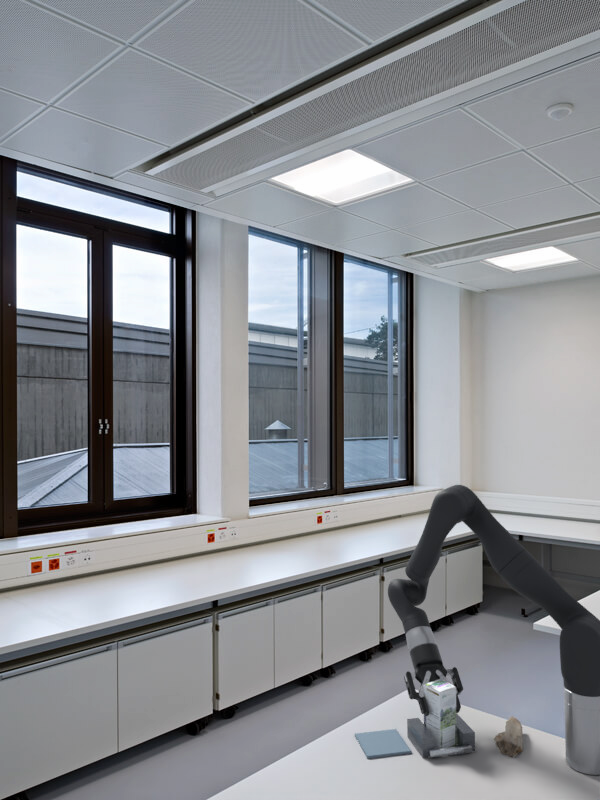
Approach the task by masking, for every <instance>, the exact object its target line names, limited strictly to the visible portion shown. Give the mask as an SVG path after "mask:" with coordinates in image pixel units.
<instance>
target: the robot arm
mask: <svg viewBox="0 0 600 800" xmlns="http://www.w3.org/2000/svg"><path fill="white" fill-rule="evenodd" d="M462 522H463V523H464V524H465V526H467V528H469V529H470V530H471V531H472V532H473V533H474V535H475V536H476V537H477V538H478V540H479V541H480V543H481V544H482V548H483V550H484V552H485V554H486V557H487V559H488V561H489V563H490V565H491V568H493V570H494V571H495V572H496V573H497V574H498V576H500V577H501V578H502V580H503V581H504V582H505V583H506V584H507V585H508V586H509V587H510V588H511V589H512V590H513V591H515V592H516V593H517V594H519V595H520V596H522V597H523V598H525V599H527V601H530V602H532V603H533V604H534V605H536V606H537V607H539V608H541V609H542V610H543V612H546V613H547V614H548V615H549V616H550V617H551V619H552V620H554V622H555V623H556V624H557V625H558V626H559V627H560V629H561V631H560V635H559V657H560V658H559V660H560V673H561V676H562V679H563V702H564V703H563V707H564V709H563V710H564V739H565V740H564V742H565V761H566V764H567V765H568V766H569V767H570V768H571V769H573V770H575V771H576V772H580V773H582V774H587V775H590V776H591V775H593V776H598V775H599V776H600V619H599V618H598V617H596V615H594V614H593V613H592V612H590V611H589V610H588V609H587V608H586V607H585V606H583V604H581V603H580V602H579V601H577V600H576V598H574V597H573V596H572V595H571V594H570V593H569V592H567V591H566V590H565V589H564V587H563V586H562V585H561V584H560V583H559V582H558V581H557V580H556V579H555V577H553V575H551V574H550V573H549V571H548V570H546V568H544V567H543V566H542V564H540V562H539V561H538V560H537V559H536V558H535V557H534V556H533V555H532V554H531V552H529V551H528V550H527V549H526V548H525V547H524V546H523V545H522V543H520V542H519V541H518V540H517V539H516V538H515V537H514V536H513V535H512V534H511V533H510V532H509V531H508V530H507V529H506V527H505V526H504V525H502V524H501V522H500V521H498V520H497V519H496V517H495V516H494V514H492V513H491V511H490V510H489V509H488V507H486V505H485V504H484V503H483V502H482V501H481V499H480V498H479V497H478V496H477V494H476V493H475V492H474V491H472V489H470V488H469V487H468V486H466V485H462V484H455V485H451V486H449V487H447V488H444V489H442V490H440V491H438V493H437V494H435V496H434V497H433V501H432V503H431V506H430V509H429V512H428V515H427V520H426V522H425V524H424V528H423V531H422V532H421V533H422V534H421V536H420V538H419V541H418V543H417V545H416V546H415V548H414V550H413V551H412V554H411V556H410V558H409V560H408V561H407V563H406V566H405V569H404V570H405V571H404V572H405V575H406V576H407V578H408V579H404V578H395V579H392V580H391V581H390V582H389V583H388V587H387V595H388V596H387V597H388V600H389V602H390V604H391V606H392V608H393V610H394V611H395V612H396V615H397V616H398V618H399V620H400V621H401V624H402V627H403V631H404V635H405V639H406V644H407V651H408V652H409V656H410V659H411V663H412V666H413V670H414V672H411V671H406V673H405V674H404V677H403V678H404V679H403V680H404V683H405V686H406V689H407V690H406V691H407V694H408V698H409V699H410V700H416V701H417V702H418V706H419V710H420V713H421V714H422V715H423V717H424V716H428V715H429V709H428V706H427V702H426V699H425V698H424V694H425V693H424V684H427V683H430V682H432V681H435V680H438V679H441V680H444V681H446V682H448V683H450V684H452V685H453V686H455V687H456V714H458V713H459V712H460V711H461V708H462V705H461V701H460V699H459V695H461V693H462V692H463V690H464V686H463V683H462V681H461V677H460V675H459V671H458V668H457V667H456V666H453V667H452V668H450V669H449V668H448V669H446V667H445V666H444V664H443V660H442V655H441V653H440V650H439V646H438V643H437V640H436V637H435V634H434V633H433V631H432V627H431V624H430V621H429V618H428V615H427V613H426V611H425V610H424V609H422V608H420V607H418V606H421V605H422V604H423V603H424V601H426V597H427V593H428V588H429V583H430V577H431V576H432V574H433V572H434V571H435V569H436V567H437V565H438V564H439V561H440V558H441V555H442V549H443V545H444V542H445V540H446V538H447V536H448V535H449V534H450V532H452V530H453V529H454V527H455V526H456V525H457V524H460V523H462ZM447 676H448V677H449V679H448V678H446V677H447ZM415 679H416V681H417V682H418V683H420V686H419V689H418V692H417V691H416V687H415V683H414V681H415ZM450 680H451V681H450Z"/></svg>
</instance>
